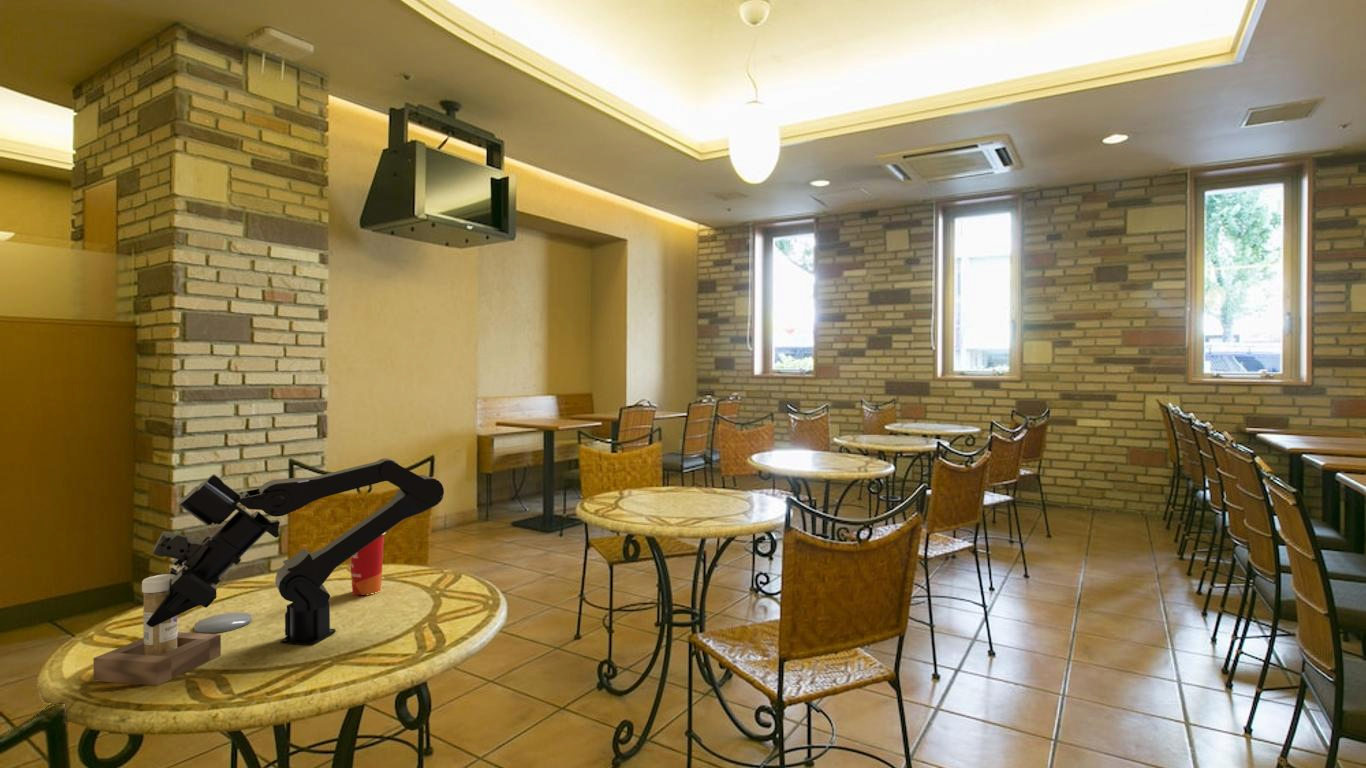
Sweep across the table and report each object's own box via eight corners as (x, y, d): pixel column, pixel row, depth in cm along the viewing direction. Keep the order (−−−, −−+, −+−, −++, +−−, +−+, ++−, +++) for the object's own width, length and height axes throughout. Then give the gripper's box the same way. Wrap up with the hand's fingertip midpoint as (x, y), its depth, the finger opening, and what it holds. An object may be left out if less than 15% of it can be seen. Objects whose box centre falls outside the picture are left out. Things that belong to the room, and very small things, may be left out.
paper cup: (350, 588, 151) (350, 525, 151) (387, 585, 154) (387, 523, 154) (344, 599, 144) (343, 533, 144) (383, 595, 146) (383, 530, 146)
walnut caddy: (220, 655, 114) (220, 634, 114) (158, 685, 103) (158, 662, 103) (161, 651, 116) (161, 630, 116) (93, 680, 105) (93, 658, 105)
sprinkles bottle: (177, 661, 109) (176, 578, 109) (141, 668, 107) (140, 583, 106) (179, 652, 113) (178, 571, 113) (144, 658, 110) (143, 576, 110)
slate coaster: (262, 617, 133) (262, 613, 133) (225, 634, 124) (225, 630, 124) (222, 615, 134) (222, 611, 134) (181, 632, 125) (181, 627, 125)
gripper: (188, 504, 119) (107, 578, 113) (189, 522, 104) (95, 609, 98) (242, 542, 124) (167, 615, 118) (250, 564, 109) (165, 650, 103)
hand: (149, 621), depth 109 cm, fingers closed on sprinkles bottle, 4 cm apart
